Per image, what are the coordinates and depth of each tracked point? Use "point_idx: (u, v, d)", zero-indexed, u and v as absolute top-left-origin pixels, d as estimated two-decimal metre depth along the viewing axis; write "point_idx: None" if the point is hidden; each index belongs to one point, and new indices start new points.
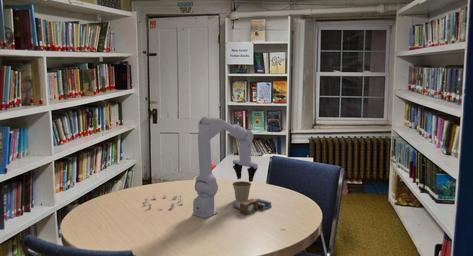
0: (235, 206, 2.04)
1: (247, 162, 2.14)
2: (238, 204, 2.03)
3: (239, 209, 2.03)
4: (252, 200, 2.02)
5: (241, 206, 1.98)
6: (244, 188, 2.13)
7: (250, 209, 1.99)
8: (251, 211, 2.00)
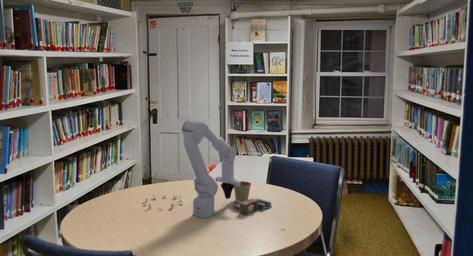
0: (235, 206, 2.04)
1: (230, 180, 2.05)
2: (238, 204, 2.03)
3: (239, 209, 2.03)
4: (252, 200, 2.02)
5: (241, 206, 1.98)
6: (244, 188, 2.13)
7: (250, 209, 1.99)
8: (251, 211, 2.00)
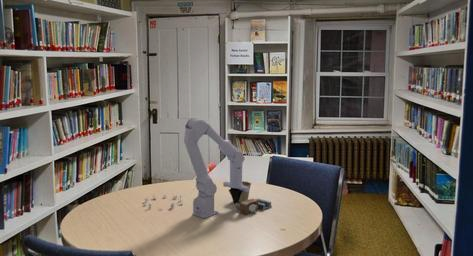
0: (237, 206, 2.03)
1: (238, 185, 2.02)
2: None
3: None
4: (252, 200, 2.02)
5: (241, 206, 1.98)
6: None
7: (252, 209, 1.98)
8: (253, 211, 1.99)
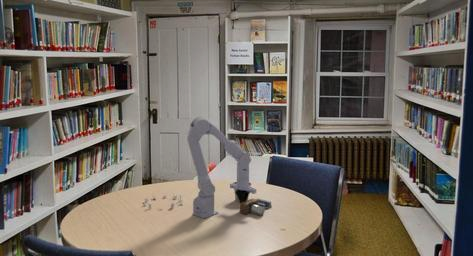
0: None
1: (245, 187, 1.99)
2: None
3: (248, 211, 2.00)
4: (252, 200, 2.02)
5: (241, 206, 1.98)
6: None
7: (260, 211, 1.95)
8: (261, 213, 1.96)
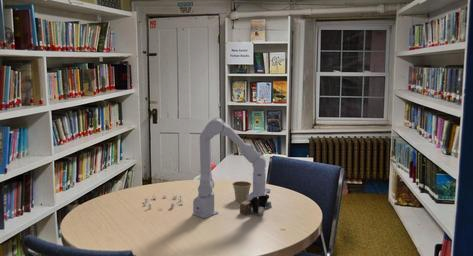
0: None
1: (253, 191, 1.95)
2: None
3: None
4: None
5: (241, 206, 1.98)
6: (244, 188, 2.13)
7: (259, 212, 1.95)
8: (261, 214, 1.96)
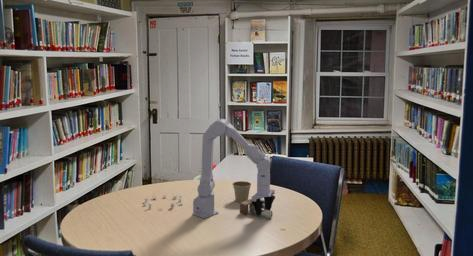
0: (252, 214, 1.97)
1: (257, 193, 1.93)
2: (255, 213, 1.95)
3: None
4: None
5: (241, 206, 1.98)
6: (244, 188, 2.13)
7: (268, 217, 1.91)
8: (270, 217, 1.92)
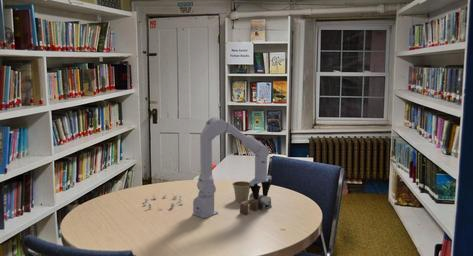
0: None
1: (255, 178, 2.05)
2: None
3: None
4: (252, 200, 2.02)
5: (241, 206, 1.98)
6: (244, 188, 2.13)
7: (266, 201, 2.04)
8: (267, 203, 2.04)
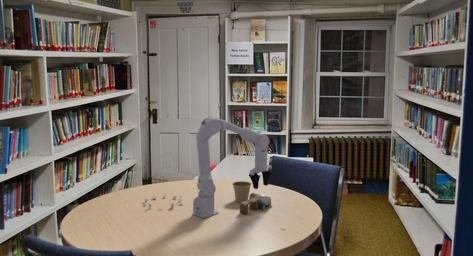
0: None
1: (255, 167, 2.04)
2: (254, 197, 2.08)
3: None
4: (252, 200, 2.02)
5: (241, 206, 1.98)
6: (244, 188, 2.13)
7: (266, 201, 2.04)
8: (267, 203, 2.04)
